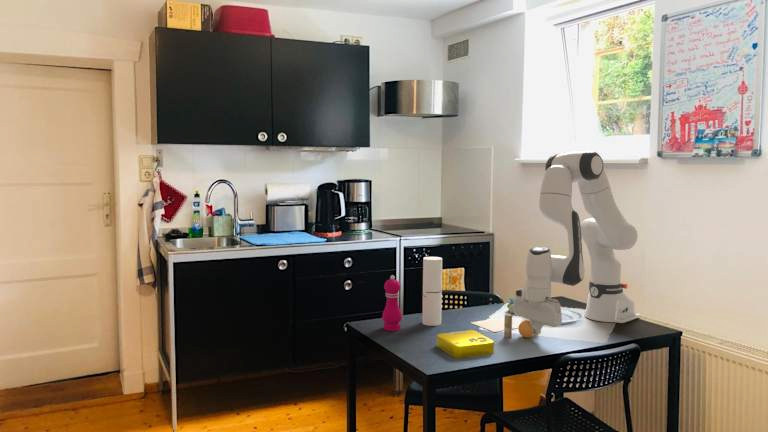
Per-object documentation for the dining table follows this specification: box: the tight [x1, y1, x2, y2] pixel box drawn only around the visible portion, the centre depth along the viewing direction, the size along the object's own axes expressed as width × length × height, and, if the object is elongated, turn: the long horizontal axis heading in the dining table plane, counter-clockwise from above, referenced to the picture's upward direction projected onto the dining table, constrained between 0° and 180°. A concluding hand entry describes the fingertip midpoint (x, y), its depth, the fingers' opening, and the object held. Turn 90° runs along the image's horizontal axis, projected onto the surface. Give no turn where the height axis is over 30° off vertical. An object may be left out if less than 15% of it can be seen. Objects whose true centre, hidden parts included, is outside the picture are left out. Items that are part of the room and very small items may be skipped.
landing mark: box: [470, 317, 520, 333], centre depth 252 cm, size 14×14×1 cm
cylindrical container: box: [421, 256, 443, 327], centre depth 252 cm, size 7×7×25 cm
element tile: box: [436, 329, 495, 359], centre depth 223 cm, size 15×15×5 cm
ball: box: [517, 319, 535, 339], centre depth 236 cm, size 6×6×6 cm
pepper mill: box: [381, 274, 403, 332], centre depth 245 cm, size 7×7×20 cm
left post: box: [503, 313, 513, 339], centre depth 236 cm, size 3×3×8 cm
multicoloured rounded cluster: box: [506, 297, 514, 314], centre depth 271 cm, size 8×10×7 cm
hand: (536, 333), depth 233 cm, fingers closed
